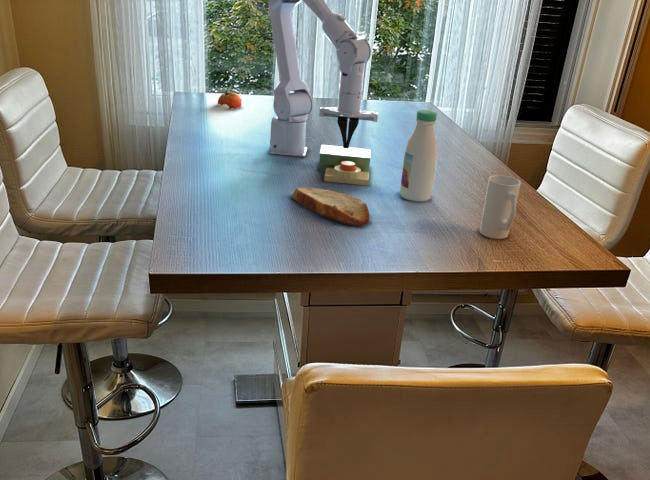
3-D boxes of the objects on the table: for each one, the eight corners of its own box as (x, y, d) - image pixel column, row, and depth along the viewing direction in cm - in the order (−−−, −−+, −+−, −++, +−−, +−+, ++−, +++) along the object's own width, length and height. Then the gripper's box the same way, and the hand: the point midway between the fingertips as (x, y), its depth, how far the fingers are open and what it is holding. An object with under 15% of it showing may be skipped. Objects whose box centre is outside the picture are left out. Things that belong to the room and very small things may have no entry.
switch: (339, 171, 173) (340, 164, 172) (340, 167, 176) (341, 160, 175) (354, 173, 173) (355, 166, 172) (354, 168, 176) (355, 161, 175)
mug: (473, 227, 156) (483, 174, 149) (500, 227, 158) (512, 175, 151) (492, 246, 148) (504, 191, 141) (521, 245, 149) (533, 191, 143)
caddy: (368, 175, 181) (370, 159, 179) (318, 170, 181) (319, 154, 178) (368, 167, 187) (370, 152, 185) (320, 162, 187) (321, 147, 184)
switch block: (323, 182, 173) (324, 170, 172) (325, 173, 179) (326, 161, 178) (368, 186, 173) (369, 174, 172) (368, 177, 180) (369, 165, 178)
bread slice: (293, 193, 164) (294, 177, 162) (369, 200, 165) (371, 185, 163) (284, 221, 149) (285, 204, 147) (368, 229, 150) (370, 212, 148)
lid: (370, 160, 178) (370, 158, 178) (319, 155, 178) (319, 153, 178) (370, 151, 185) (370, 149, 184) (321, 147, 184) (321, 144, 184)
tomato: (217, 97, 232) (231, 82, 228) (233, 112, 235) (247, 98, 231) (212, 106, 226) (227, 91, 222) (229, 122, 229) (243, 107, 225)
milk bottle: (434, 195, 172) (447, 111, 162) (426, 204, 166) (439, 118, 155) (404, 189, 174) (415, 105, 163) (395, 198, 168) (406, 112, 157)
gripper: (319, 92, 168) (316, 149, 176) (379, 98, 169) (374, 154, 176) (322, 86, 174) (318, 141, 182) (379, 92, 175) (374, 147, 182)
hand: (346, 147), depth 179 cm, fingers closed
